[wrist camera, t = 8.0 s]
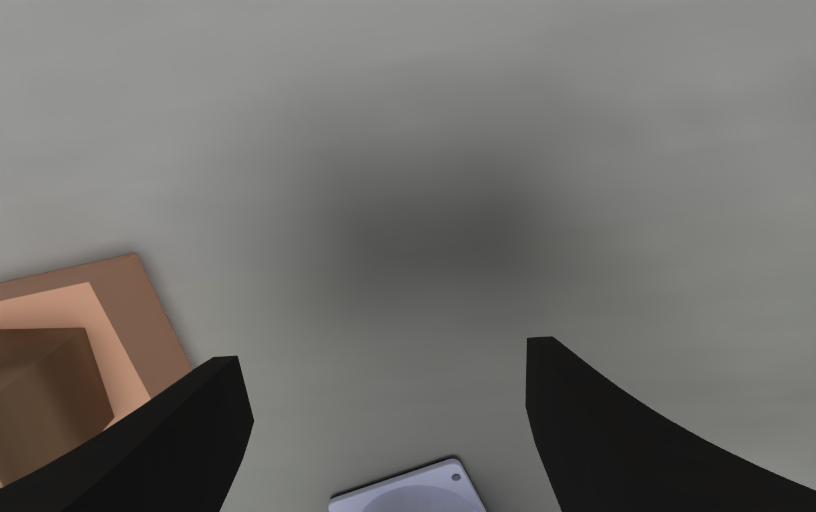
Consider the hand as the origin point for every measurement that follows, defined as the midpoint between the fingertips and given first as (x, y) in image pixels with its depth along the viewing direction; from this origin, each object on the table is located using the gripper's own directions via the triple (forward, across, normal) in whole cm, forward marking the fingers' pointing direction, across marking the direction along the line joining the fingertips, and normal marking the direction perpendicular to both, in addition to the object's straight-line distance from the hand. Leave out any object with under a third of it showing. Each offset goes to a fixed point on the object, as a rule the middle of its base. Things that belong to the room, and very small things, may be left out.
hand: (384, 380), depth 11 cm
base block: (+10, +15, +3) cm, 18 cm away
